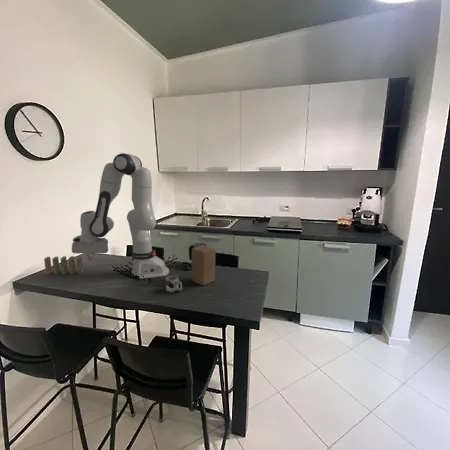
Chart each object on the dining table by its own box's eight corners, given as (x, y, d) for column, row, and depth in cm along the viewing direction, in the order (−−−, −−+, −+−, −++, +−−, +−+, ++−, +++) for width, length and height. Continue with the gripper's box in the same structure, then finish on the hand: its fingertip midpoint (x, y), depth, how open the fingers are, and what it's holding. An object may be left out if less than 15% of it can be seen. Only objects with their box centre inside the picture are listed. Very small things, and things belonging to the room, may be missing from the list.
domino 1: (52, 272, 171) (50, 256, 169) (49, 274, 167) (47, 258, 165) (49, 272, 170) (47, 256, 168) (46, 274, 167) (44, 258, 164)
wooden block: (215, 281, 162) (216, 248, 157) (202, 286, 155) (202, 252, 150) (203, 276, 168) (204, 244, 164) (191, 281, 161) (190, 248, 157)
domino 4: (75, 271, 172) (74, 256, 170) (73, 274, 169) (71, 258, 166) (72, 271, 172) (71, 256, 170) (70, 274, 168) (68, 258, 166)
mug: (163, 290, 150) (163, 278, 148) (171, 285, 155) (171, 274, 154) (177, 295, 144) (177, 283, 143) (185, 290, 150) (185, 278, 149)
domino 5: (83, 271, 173) (81, 255, 171) (80, 273, 169) (79, 258, 167) (80, 271, 173) (79, 255, 171) (78, 273, 169) (76, 258, 167)
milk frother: (209, 264, 188) (209, 243, 185) (199, 273, 174) (199, 250, 170) (190, 262, 193) (189, 241, 190) (179, 269, 178) (178, 247, 175)
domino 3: (67, 271, 172) (66, 256, 170) (65, 274, 168) (63, 258, 166) (65, 271, 172) (63, 256, 169) (62, 274, 168) (60, 258, 166)
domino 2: (60, 272, 171) (58, 256, 169) (57, 274, 167) (55, 258, 165) (57, 272, 171) (55, 256, 169) (54, 274, 167) (52, 258, 165)
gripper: (109, 236, 172) (110, 258, 175) (74, 236, 169) (75, 258, 172) (106, 239, 166) (107, 261, 169) (69, 239, 163) (71, 261, 166)
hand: (91, 259), depth 170 cm, fingers closed
